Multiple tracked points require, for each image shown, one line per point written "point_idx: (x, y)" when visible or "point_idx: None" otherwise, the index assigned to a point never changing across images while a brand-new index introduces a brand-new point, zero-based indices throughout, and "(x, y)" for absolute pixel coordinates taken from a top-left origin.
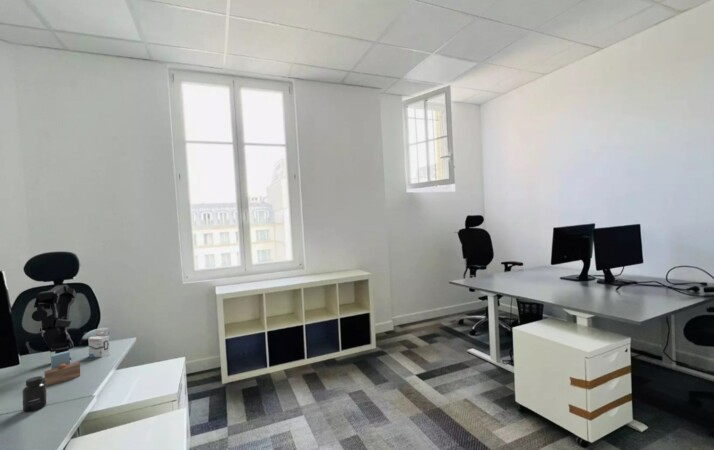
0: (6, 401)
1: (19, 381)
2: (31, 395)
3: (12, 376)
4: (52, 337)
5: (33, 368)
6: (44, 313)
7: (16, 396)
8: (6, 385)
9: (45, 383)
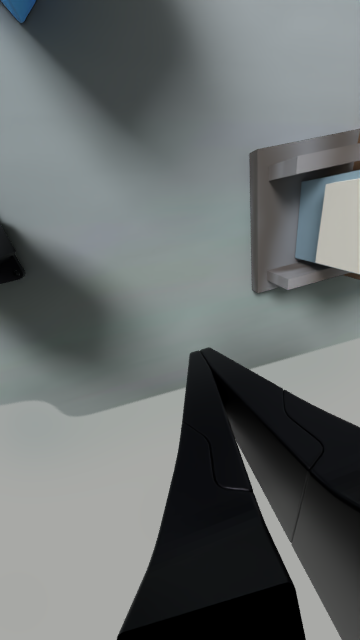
0: (339, 343)
1: None
2: None
3: (107, 397)
4: (358, 448)
5: (40, 359)
6: None
7: (328, 330)
8: None
9: None
